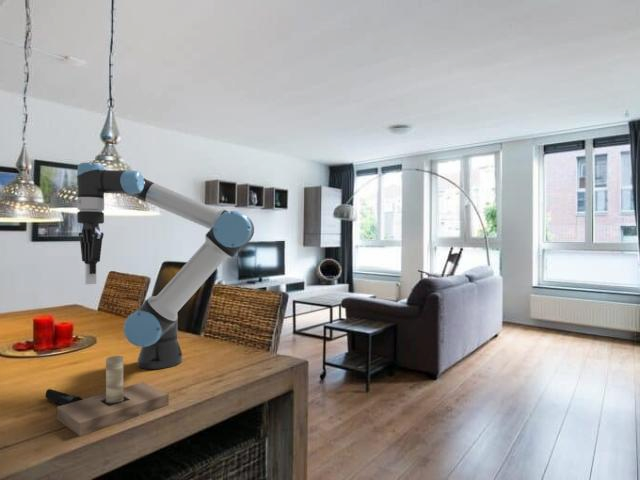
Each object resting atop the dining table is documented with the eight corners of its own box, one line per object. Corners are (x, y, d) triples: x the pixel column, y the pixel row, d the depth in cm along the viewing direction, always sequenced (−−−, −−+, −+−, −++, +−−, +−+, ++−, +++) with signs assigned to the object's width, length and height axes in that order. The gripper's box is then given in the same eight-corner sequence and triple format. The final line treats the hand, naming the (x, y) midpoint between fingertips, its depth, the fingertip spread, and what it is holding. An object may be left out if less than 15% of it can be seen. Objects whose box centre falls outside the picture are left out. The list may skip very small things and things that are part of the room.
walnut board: (142, 392, 117) (142, 382, 117) (168, 405, 108) (168, 394, 108) (57, 418, 100) (57, 406, 99) (79, 436, 91) (79, 423, 91)
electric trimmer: (56, 397, 114) (55, 386, 114) (87, 407, 107) (87, 395, 107) (41, 401, 111) (41, 390, 111) (73, 413, 103) (73, 400, 103)
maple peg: (119, 407, 107) (119, 354, 107) (126, 411, 104) (126, 357, 104) (102, 412, 103) (102, 358, 103) (109, 416, 101) (109, 361, 101)
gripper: (69, 211, 130) (70, 283, 130) (87, 209, 122) (87, 286, 122) (94, 212, 136) (94, 281, 136) (112, 211, 128) (112, 284, 128)
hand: (90, 283), depth 129 cm, fingers closed
